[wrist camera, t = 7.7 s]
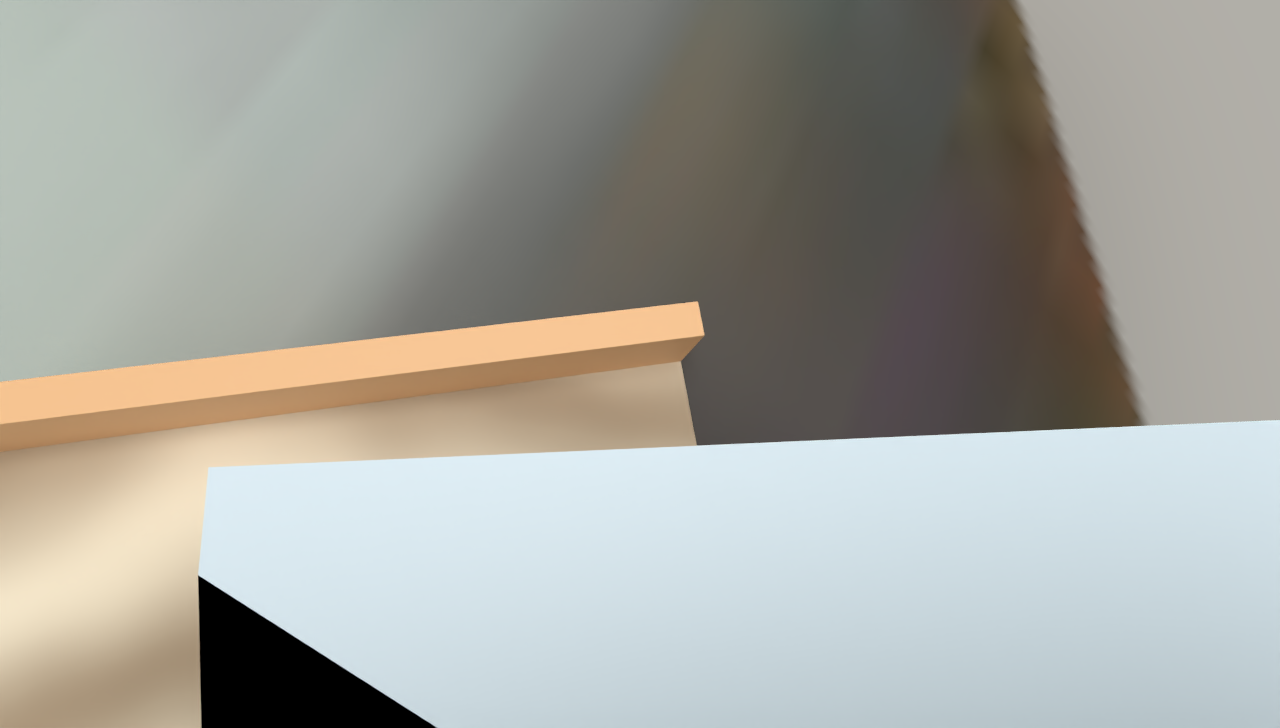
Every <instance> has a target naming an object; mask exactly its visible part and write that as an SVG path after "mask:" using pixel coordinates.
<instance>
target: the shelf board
mask: <svg viewBox="0 0 1280 728" xmlns="http://www.w3.org/2000/svg"><path fill="white" fill-rule="evenodd" d="M681 446H697V445H696V440H695V434H694V429H693V424H692V418H691V413H690V408H689V403H688V397H687V392H686V387H685V382H684V376H683V371H682V366H681V361H679V362H672V363H664V364H657V365H649V366H642V367H634V368H627V369H619V370H612V371H604V372H597V373H589V374H582V375H574V376H567V377H559V378H552V379H544V380H537V381H529V382H522V383H514V384H507V385H499V386H492V387H484V388H477V389H469V390H462V391H454V392H447V393H439V394H432V395H424V396H417V397H409V398H402V399H394V400H387V401H379V402H372V403H364V404H357V405H349V406H342V407H334V408H327V409H319V410H312V411H304V412H297V413H289V414H282V415H274V416H267V417H259V418H252V419H244V420H237V421H229V422H222V423H214V424H207V425H199V426H192V427H184V428H177V429H169V430H162V431H154V432H147V433H139V434H132V435H124V436H117V437H109V438H102V439H94V440H87V441H79V442H72V443H64V444H57V445H49V446H42V447H34V448H27V449H19V450H12V451H4V452H0V728H201V687H200V641H199V595H198V570H199V560H200V550H201V539H202V529H203V519H204V508H205V498H206V487H207V477H208V467H227V466H250V465H273V464H295V463H318V462H341V461H363V460H386V459H409V458H431V457H454V456H477V455H499V454H522V453H545V452H567V451H590V450H613V449H635V448H658V447H681Z"/></svg>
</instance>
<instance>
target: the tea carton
mask: <svg viewBox="0 0 1280 728" xmlns="http://www.w3.org/2000/svg"><path fill="white" fill-rule="evenodd" d="M198 595H199V641H200V687H201V728H1280V420H1270V421H1248V422H1226V423H1202V424H1181V425H1180V424H1179V425H1159V426H1158V425H1157V426H1134V427H1111V428H1089V429H1066V430H1043V431H1021V432H998V433H975V434H953V435H930V436H907V437H885V438H862V439H839V440H817V441H794V442H771V443H749V444H726V445H703V446H681V447H658V448H635V449H613V450H590V451H567V452H545V453H522V454H499V455H477V456H454V457H431V458H409V459H386V460H363V461H341V462H318V463H295V464H273V465H250V466H227V467H208V477H207V487H206V498H205V508H204V519H203V529H202V539H201V550H200V560H199V570H198Z"/></svg>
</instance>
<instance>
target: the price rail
mask: <svg viewBox="0 0 1280 728" xmlns="http://www.w3.org/2000/svg"><path fill="white" fill-rule="evenodd" d="M703 336H704V331H703V326H702V321H701V316H700V311H699V306H698V302H689V303H681V304H672V305H663V306H655V307H646V308H637V309H629V310H620V311H611V312H603V313H594V314H585V315H576V316H568V317H559V318H550V319H542V320H533V321H524V322H516V323H507V324H498V325H490V326H481V327H472V328H464V329H455V330H446V331H438V332H429V333H420V334H412V335H403V336H394V337H386V338H377V339H368V340H360V341H351V342H342V343H334V344H325V345H316V346H308V347H299V348H290V349H282V350H273V351H264V352H256V353H247V354H238V355H230V356H221V357H212V358H204V359H195V360H186V361H178V362H169V363H160V364H152V365H143V366H134V367H126V368H117V369H108V370H100V371H91V372H82V373H74V374H65V375H56V376H47V377H39V378H30V379H21V380H13V381H4V382H0V452H4V451H12V450H19V449H27V448H34V447H42V446H49V445H57V444H64V443H72V442H79V441H87V440H94V439H102V438H109V437H117V436H124V435H132V434H139V433H147V432H154V431H162V430H169V429H177V428H184V427H192V426H199V425H207V424H214V423H222V422H229V421H237V420H244V419H252V418H259V417H267V416H274V415H282V414H289V413H297V412H304V411H312V410H319V409H327V408H334V407H342V406H349V405H357V404H364V403H372V402H379V401H387V400H394V399H402V398H409V397H417V396H424V395H432V394H439V393H447V392H454V391H462V390H469V389H477V388H484V387H492V386H499V385H507V384H514V383H522V382H529V381H537V380H544V379H552V378H559V377H567V376H574V375H582V374H589V373H597V372H604V371H612V370H619V369H627V368H634V367H642V366H649V365H657V364H664V363H672V362H679V361H681V360H682V359H683V358H684V357H685V356H686V355H687V354H688V353H689V352H690V351H691V349H692V348H693V347H694V346H695V345H696V344H697V343H698V342H699V341H700V340H701V339H702V337H703Z"/></svg>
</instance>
